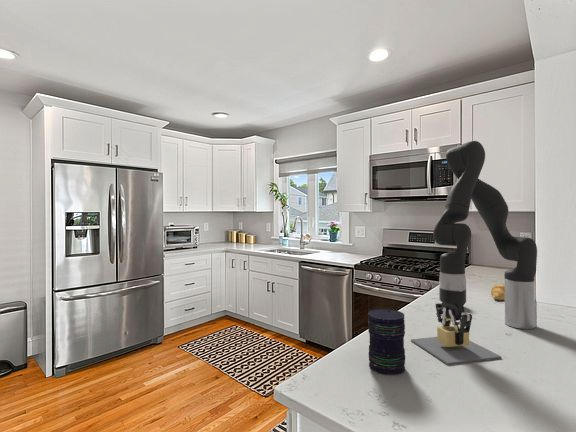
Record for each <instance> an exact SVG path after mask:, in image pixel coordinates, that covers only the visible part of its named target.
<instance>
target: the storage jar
mask: <svg viewBox="0 0 576 432" xmlns="http://www.w3.org/2000/svg"><path fill="white" fill-rule="evenodd" d="M367 316H368V321H367V323H368V328H367V331H368V333H369V334H368V335H369V345H368V362H369V363H368V367H369V368H370V370H371V371H373V372H374V373H377V374H379V375H384V376H399V375H402V374H403V373H404V372H405V371H406V366H405V365H406V350H405V339H404V338H405V334H406V332H405V330H406V323H405V314H404V312H401V311H399V310H396V309H390V308H374V309H371V310H369V311H368V315H367Z"/></svg>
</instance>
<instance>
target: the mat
mask: <svg viewBox="0 0 576 432" xmlns="http://www.w3.org/2000/svg"><path fill="white" fill-rule="evenodd" d="M410 342H412V343H413V344H414V345H416V346H418V347H420V349H422V350H424V351H425V352H427V353H428V354H429V355H432V356H433V357H434V358H435V359H438V360H439V361H441V362H442V363H443V364H445V365H447V366H452V365H459V364H468V363H475V362H477V363H478V362H484V361H493V360H501V359H502V356H501V355H500V354H497V353H495V352H493V351H491V350H489V349H488V348H485V347H484V346H482V345H479V344H477V343H475V342H474V341H471V340H470V339H469V345H466V346H453V347H446V346H445V345H443V344H441V343H440V342H438V339H437V336H432V337H422V338H421V337H420V338H413V339H410Z"/></svg>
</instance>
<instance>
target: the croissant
mask: <svg viewBox="0 0 576 432" xmlns="http://www.w3.org/2000/svg"><path fill="white" fill-rule="evenodd" d="M490 294H491V296H492V298H493V300H495V301H505V283H500V284H496V285H494V286H492V287H491V289H490Z"/></svg>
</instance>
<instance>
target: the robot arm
mask: <svg viewBox="0 0 576 432" xmlns="http://www.w3.org/2000/svg"><path fill="white" fill-rule="evenodd" d="M445 160H446V163H447V165H448V167H449V169H450V170H451V172H452V173H453V175H454V176H455V177H456V178H457V181H456V182H455V184H454V185H452V187H451V189H450V190H449V192H448V195H447V198H446V200H445V205H444V210H443V213H442V214H441V216H440V218H439V219H438V221H437V223H436V224H435V226H434V229H433V233H432V237H433V240H434V242H435V243H436V244H437V245H440V246H447V247H448V246H451V247H453V246H454V247H456V249H455V251H452V252H445V253H442V254H441V255H440V257H439V279H438V281H439V283H438V286H439V287H438V288H439V292H438V293H439V298H438V299H439V301H440V303H439V302H438V303H435V310H436V313H437V316H436V318H437V317H438V318H437V321H438V323H441V325H442V326H441V327H444V326H454V327H455V331H456V332H455V344H457V345H462V344H463V342H464V333H466V332H469V333H470V332H471V331H470V330H471V326H472V320H473V315H472V314H471V313H469V314H468V313H467V312H466V310H465V307H464V306H465V304H466V303H467V279H466V255H467V253H468V252H467V251H468V249H469V245H470V241H471V239H472V230H471V227H470V226H469V225H468V224H466V223H460V222H464V221H466V220H467V218H468V216H469V213H470V207H471V202H472V204H473V205H474V207H475V209H476V210H477V212H478V213H479V215H480V218H482V220H483V222H484V223H485V225H486V227H487V229H488V231H489V232H490V233H489V234H490V235H491V238H492V239H493V241H494V242H493V243H494V244H495V246H496V248H497V251H498V252H499V255H500V256H501V257H502V258H503V259H504V260H507V261H512V262H516V267H514V268H513V269H507V270H505V271H504V275H503V276H504V284H505V300H504V324H505V325H507V326H509V327H512V328H515V329H523V330H533V329H535V328H536V327H538V326H537V325H538V321H537V319H538V315H537V313H538V312H537V308H538V307H537V305H538V301H537V300H535V277H536V274H537V263H538V260H537V259H538V246H537V243H536V241H535V240H534V239H533V238H531V237H523V236H514V235H512V234H511V233H510V231H509V229H508V227H507V219H508V216H509V206H508V204H507V202H506V200H505V198H504V197H503V195H502V193H501V192H500V191H499V190H498V189H497V188H495V187H494V186H492V185H490V184H488V183H487V182H485V181H483V180H482V179H480V178H479V177H480V174H481V172H482V169H483V167H484V165H485V164H484V163H485V161H486V151H485V148H484V146H483V145H482V143H480V142H479V141H477V140H472V141H468V142H465V143H462V144H460V145H457V146H454V147H451V148H449V149H447V151H446V154H445ZM441 314H442V316H441ZM451 324H452V325H451ZM458 326H460V329H459V327H458Z"/></svg>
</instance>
